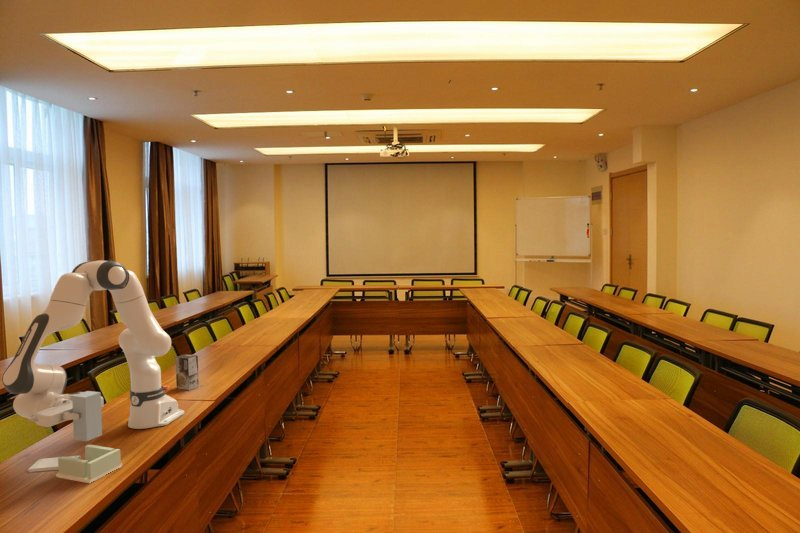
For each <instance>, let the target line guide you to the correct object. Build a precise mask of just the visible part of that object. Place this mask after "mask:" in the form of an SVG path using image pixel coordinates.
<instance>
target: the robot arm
mask: <svg viewBox="0 0 800 533" xmlns="http://www.w3.org/2000/svg"><path fill="white" fill-rule="evenodd" d="M107 290H108V291H109V293H110V294H111V297H112V300H113V303H114V306H115V309H116V311H117V314H118V316H119V319H120V322H121V323H122V324H123V325H124V326H125V327H126V328H125V329H123V330H122V331H121V332H120V334H119V336H118V341H117V342H118V345H119V347H120V348H121V349H122V351H123V353H124V356H125V359H126V361H127V365H128V369H129V376H130V378H129V379H130V390H129V399H130V407H129V416H128V418H127V419H128V420H127V422H128V423H127V427H128V428H130V429H135V430H142V429H143V430H144V429H149V428H151V429H152V428H156V427H164V426H167V425H168V424H170V423H172V422H174V421H175V420H176V419H178V418H179V417H182V416H183V415H185V410H183V409H182V408H179V403H178V401H177V400H176V399H175V398H173V397H171V396H169V395H168V394H166V392H165V391H168V392H169V391H170V385H163V386H162V371H161V370H162V369H161V366H160V365H159V363H158V362H157V360H156V357H162V356H164V355H166V354H167V353H168V352H169V351H170V349H171V348H172V338H171V337H170V335H169V334H168V333H167V332H166V331H165V330H164V329H163V328H162V326H160V324H159V322H158V320H157V319H156V317H155V316H154V315H153V314H154V313H153V312H152V310H151V309H150V306H149V303H148V300H147V297H146V294H145V291H144V288H143V286H142V284H141V282H140V280H139V279H138V276H137V274H136V273H135V272H134V271H132V270H130V269H127V268H126V267H125V266H124V265H123V264H122V263H120V262H118V261H114V260H95V261H93V260H92V261H85V262H81V263H79V264H77V265H76V266H75V267H74V268H73V269H72V271H71V272H67V273H64V274H62V275H61V276H60V277H59V279H58V280H57V283H56V284H55V286H54V288H53V291H52V293H51V296H50V298H49V302H48V304H47V307H46V308H45V310H44V311H43V312H41V314H37V315H36V316H35V317H34V318H33V320H32V321H31V323H30V325H29V326H28V328H27V329H26V330H27V331H26V333H24V337H23V338H22V341H21V342H20V344H19V346H18V348H17V351H16V353H15V355H14V357H13V359H12V361H11V362H10V363H9V364H8V366H7V367H6V369H5V371H4V372H3V375H2V377H1V378H2V380H1V381H2V385H3V387H4V388H5V390H6V391H7V392H8V393H9V394H12V395H16V397H15V398H14V400H13V404H12V407H13V410H14V412H15V413H16V414H17V415H19V417H23V418H26V419H28V420H29V421H30V422H35V424H36V425H37V426H41V427H43V428H44V427H45V428H46V427H47V428H48V427H49V428H50V427H53V426H55V425H58V424H62V423H64V422H67V421H73V419H74V420H77V419H80V418H81V417H82V416H81V413H78V412H77V413H73V404H72V396H73V395H76V394H80V393H83V392H84V391H77V392H69V393H64V391H65V389H66V386H67V383H68V374H67V372H66V370H65V369H64V367H62V366H61V365H55V364H45V363H35V360H36V357H37V356H38V353H39V351H40V349H41V347H42V345H43V342H44V341H45V340H46V338H47V337H49V335H51V334H54V333H56V332H61V331H65V330H68V329H72V328H73V327H75V326H77V325H79V324H80V323H81V321H82V320H83V317H84V315H85V312H86V308H87V305H88V301H89V296H90V295H91V294H92V293H93V291H95V292H96V291H99V292H100V291H107ZM104 403H105V402H104V397H103V396H102V395H101V409H102V408H104V406H105V404H104Z"/></svg>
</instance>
